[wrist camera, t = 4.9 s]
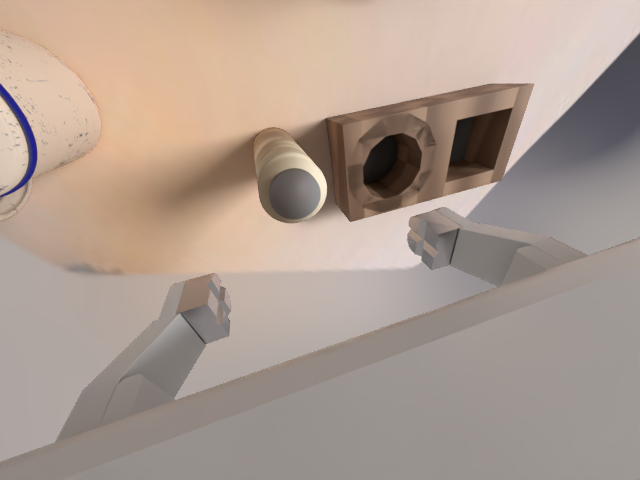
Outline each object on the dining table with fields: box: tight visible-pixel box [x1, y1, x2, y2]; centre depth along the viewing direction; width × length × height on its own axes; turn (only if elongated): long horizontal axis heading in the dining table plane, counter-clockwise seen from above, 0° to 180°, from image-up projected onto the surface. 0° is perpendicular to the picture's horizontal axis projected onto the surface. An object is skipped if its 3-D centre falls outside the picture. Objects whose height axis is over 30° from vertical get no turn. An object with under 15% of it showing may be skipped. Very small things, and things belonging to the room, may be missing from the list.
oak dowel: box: [253, 127, 327, 223], centre depth 19 cm, size 4×4×13 cm
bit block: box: [326, 84, 534, 222], centre depth 26 cm, size 20×10×5 cm, turn 100°
